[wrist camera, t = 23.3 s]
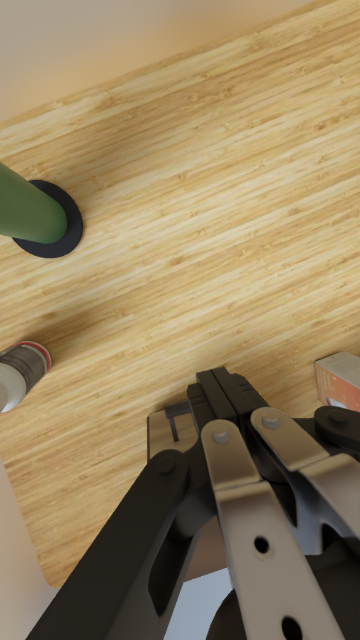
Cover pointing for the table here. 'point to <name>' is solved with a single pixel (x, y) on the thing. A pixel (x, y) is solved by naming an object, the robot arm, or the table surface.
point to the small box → (339, 380)
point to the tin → (28, 210)
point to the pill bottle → (21, 371)
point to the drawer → (172, 428)
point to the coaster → (72, 231)
